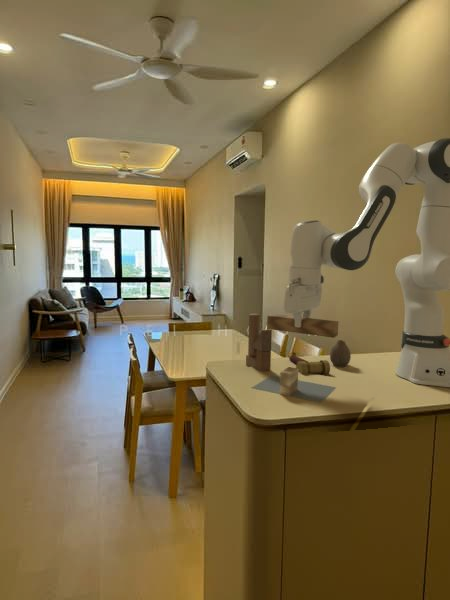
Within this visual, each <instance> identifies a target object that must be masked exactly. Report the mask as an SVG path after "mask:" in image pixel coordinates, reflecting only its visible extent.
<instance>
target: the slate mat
mask: <svg viewBox="0 0 450 600" xmlns="http://www.w3.org/2000/svg"><path fill="white" fill-rule="evenodd" d="M336 388H337V387H336V386H332V385H326V384H321V383H314V382H311V381H310V382H309V381H305V380H300V379H298V389H297V390H296V391H295V392H294V393H292V394H291V395H290V396H289V397H291V398H292V397H293V398H296V399H302V400H307V401H311V402H315V403H320V404H321V403H322V402H324V401H325V399H327V398H328V396H329V395H331V393H333V392H334V390H336ZM251 389H255V390H259V391H263V392H267V393H268V392H269V393H273V394H278V395H283V394H280V376H277V375H270V376H268V377H267V378H264V379H263V380H262V381H260V382H258V383H257V384H255V385H253V386H252V387H251ZM283 396H284V395H283Z"/></svg>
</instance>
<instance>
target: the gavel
mask: <svg viewBox="0 0 450 600" xmlns="http://www.w3.org/2000/svg"><path fill="white" fill-rule="evenodd" d="M288 359H289V360H290V362H291V363H293V364H295V368H298V374H301V375H304V374H311V375H320V374H323V375H329V374H330V372H331V364H330V362H329V361H328V360H327V359H323V360H318V361H308V360H306V359H303V358H301V357H299V356H296V355H293V354H292V355H289V356H288Z"/></svg>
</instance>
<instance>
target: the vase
mask: <svg viewBox="0 0 450 600" xmlns="http://www.w3.org/2000/svg"><path fill="white" fill-rule="evenodd" d="M351 355H352V354H351V350H350V348H349V346H348V345H347V344H346V342H345V340H343V339H342V340H341V339H339V340H338V339H337V341H336V343H334V344H333V346H332V347H331V349H330V353H329V359H330V361H331V363H332V365H333V366H335V367H336V368H337V367H339V368H344V367H346V366H348V365H349V363H350V361H351Z"/></svg>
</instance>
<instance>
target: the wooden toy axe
mask: <svg viewBox="0 0 450 600" xmlns="http://www.w3.org/2000/svg"><path fill="white" fill-rule="evenodd" d="M260 316H261V315H260V314H259V313H250V314H248V344H247V345H248V346H247V349H248V350H247V354H246V356H245V365H246V366H247V367H252V368H254V369H257V370H258V371H259V372H268V371H271V367H272V366H271V362H272V336H273V335H272V334H273V333H272V332H273V330H272V329H263V330H261V331H260V322H261V321H260V320H261V319H260V318H261V317H260Z"/></svg>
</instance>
